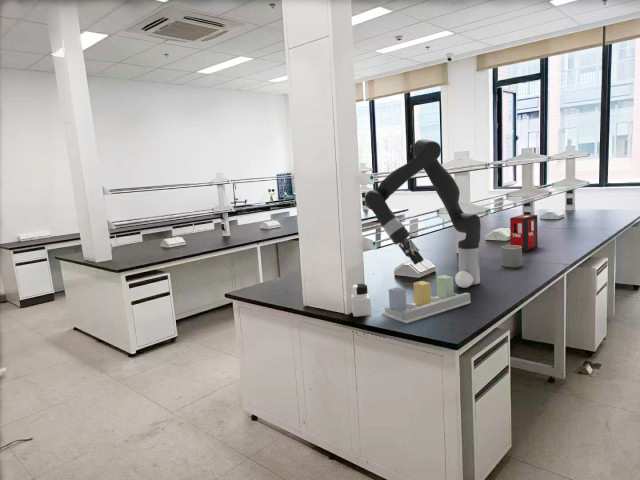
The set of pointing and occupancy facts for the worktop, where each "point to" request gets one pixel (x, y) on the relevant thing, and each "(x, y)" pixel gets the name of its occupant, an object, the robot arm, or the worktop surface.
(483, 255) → the worktop surface
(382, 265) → the worktop surface
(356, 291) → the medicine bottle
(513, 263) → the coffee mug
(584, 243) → the worktop surface
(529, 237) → the cleaning product box
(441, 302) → the white divided tray
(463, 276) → the crumpled paper ball
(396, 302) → the blue-grey block
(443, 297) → the pale green block
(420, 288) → the yellow rectangular block
